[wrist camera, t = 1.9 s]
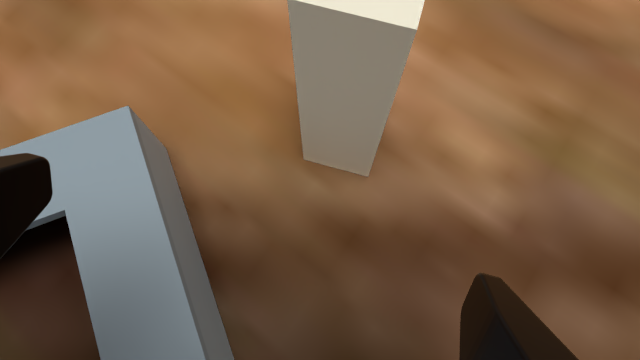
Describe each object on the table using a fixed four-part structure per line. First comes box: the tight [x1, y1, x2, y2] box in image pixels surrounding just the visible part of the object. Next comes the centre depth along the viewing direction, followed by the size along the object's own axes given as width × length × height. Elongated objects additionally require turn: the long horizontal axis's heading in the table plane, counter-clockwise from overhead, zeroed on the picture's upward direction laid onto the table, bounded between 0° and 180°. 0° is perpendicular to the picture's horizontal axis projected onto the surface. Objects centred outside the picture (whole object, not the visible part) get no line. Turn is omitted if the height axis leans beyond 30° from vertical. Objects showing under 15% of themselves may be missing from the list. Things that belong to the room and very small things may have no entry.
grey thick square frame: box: [0, 106, 234, 360], centre depth 19 cm, size 14×14×5 cm
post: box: [288, 0, 425, 177], centre depth 18 cm, size 4×4×12 cm
